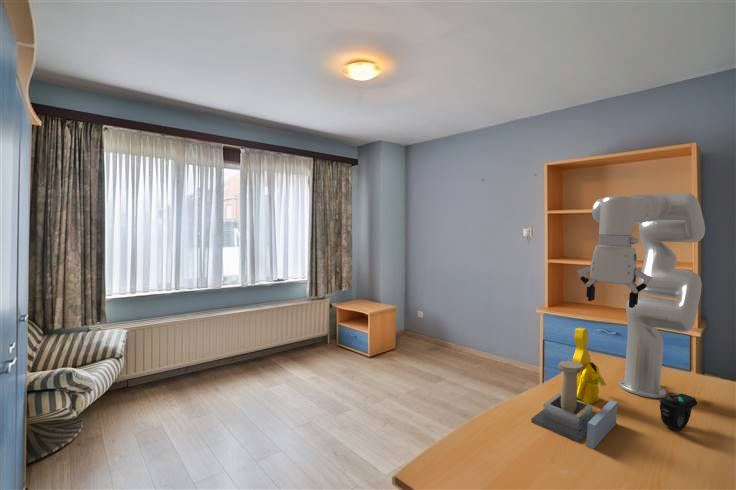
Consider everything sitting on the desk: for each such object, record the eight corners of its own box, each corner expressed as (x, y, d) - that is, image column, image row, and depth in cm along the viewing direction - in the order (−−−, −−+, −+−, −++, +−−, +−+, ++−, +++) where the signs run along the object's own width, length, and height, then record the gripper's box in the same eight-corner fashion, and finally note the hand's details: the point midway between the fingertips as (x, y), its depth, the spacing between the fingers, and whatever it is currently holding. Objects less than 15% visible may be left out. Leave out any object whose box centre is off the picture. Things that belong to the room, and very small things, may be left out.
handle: (584, 419, 99) (587, 366, 98) (566, 423, 97) (569, 369, 96) (569, 410, 104) (571, 359, 103) (552, 413, 102) (554, 362, 101)
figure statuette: (583, 411, 105) (587, 338, 104) (557, 400, 112) (560, 331, 110) (611, 396, 115) (615, 329, 113) (585, 386, 121) (589, 323, 120)
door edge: (609, 420, 101) (610, 400, 100) (616, 423, 99) (617, 402, 99) (586, 445, 89) (587, 422, 88) (593, 449, 88) (595, 425, 87)
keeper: (558, 401, 111) (558, 387, 111) (602, 418, 102) (603, 402, 102) (531, 421, 99) (532, 406, 99) (578, 442, 90) (579, 425, 90)
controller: (654, 428, 97) (657, 392, 97) (678, 418, 103) (681, 384, 102) (673, 436, 93) (676, 399, 93) (697, 426, 99) (700, 391, 98)
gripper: (658, 243, 93) (653, 307, 95) (584, 239, 106) (581, 296, 108) (651, 244, 89) (646, 312, 90) (575, 240, 102) (571, 299, 103)
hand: (610, 303), depth 99 cm, fingers open, 9 cm apart
